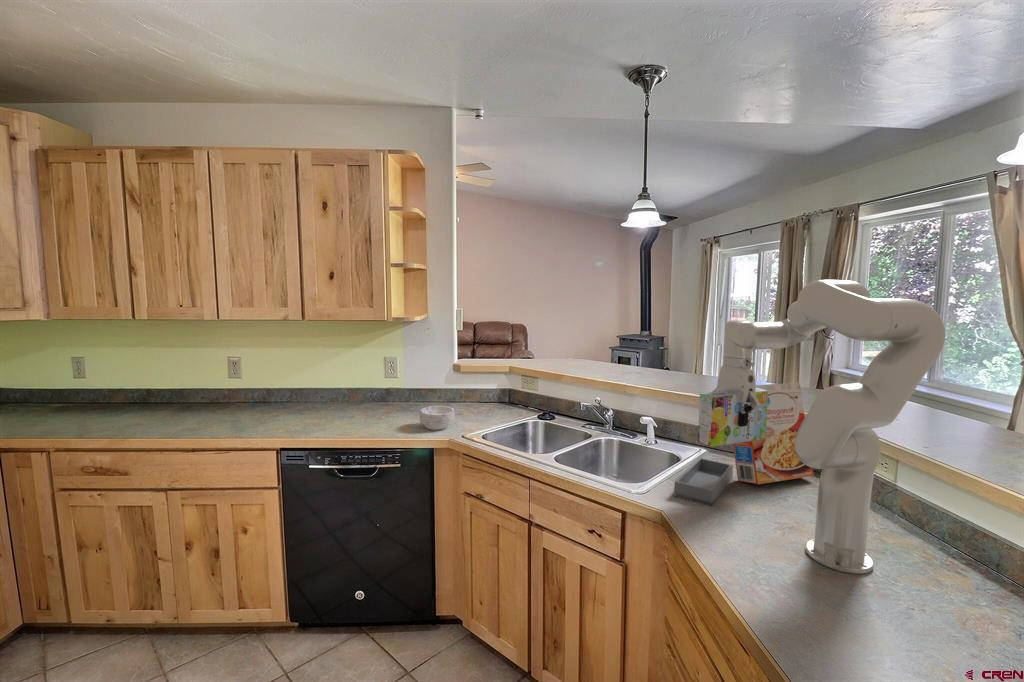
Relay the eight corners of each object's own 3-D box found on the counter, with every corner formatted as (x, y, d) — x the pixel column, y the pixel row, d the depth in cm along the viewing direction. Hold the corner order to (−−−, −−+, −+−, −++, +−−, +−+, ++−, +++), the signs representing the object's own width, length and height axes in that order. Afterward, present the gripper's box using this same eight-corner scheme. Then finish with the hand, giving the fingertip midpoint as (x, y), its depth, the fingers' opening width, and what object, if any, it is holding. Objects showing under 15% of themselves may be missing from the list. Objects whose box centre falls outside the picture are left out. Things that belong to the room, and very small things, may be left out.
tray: (711, 506, 131) (712, 491, 130) (673, 496, 137) (674, 481, 137) (732, 478, 151) (733, 464, 151) (698, 470, 158) (699, 457, 157)
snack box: (751, 433, 144) (754, 386, 142) (766, 439, 139) (770, 390, 137) (696, 441, 137) (699, 392, 135) (710, 448, 132) (713, 396, 130)
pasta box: (758, 484, 142) (744, 386, 146) (738, 480, 149) (725, 387, 153) (813, 475, 149) (799, 382, 153) (791, 472, 156) (778, 384, 161)
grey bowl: (451, 432, 197) (451, 414, 196) (416, 432, 197) (416, 413, 196) (456, 422, 212) (456, 405, 211) (423, 422, 212) (423, 405, 212)
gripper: (773, 366, 129) (768, 429, 131) (721, 357, 145) (717, 414, 147) (755, 368, 126) (750, 432, 128) (703, 359, 141) (700, 416, 143)
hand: (732, 422), depth 137 cm, fingers closed on snack box, 6 cm apart
